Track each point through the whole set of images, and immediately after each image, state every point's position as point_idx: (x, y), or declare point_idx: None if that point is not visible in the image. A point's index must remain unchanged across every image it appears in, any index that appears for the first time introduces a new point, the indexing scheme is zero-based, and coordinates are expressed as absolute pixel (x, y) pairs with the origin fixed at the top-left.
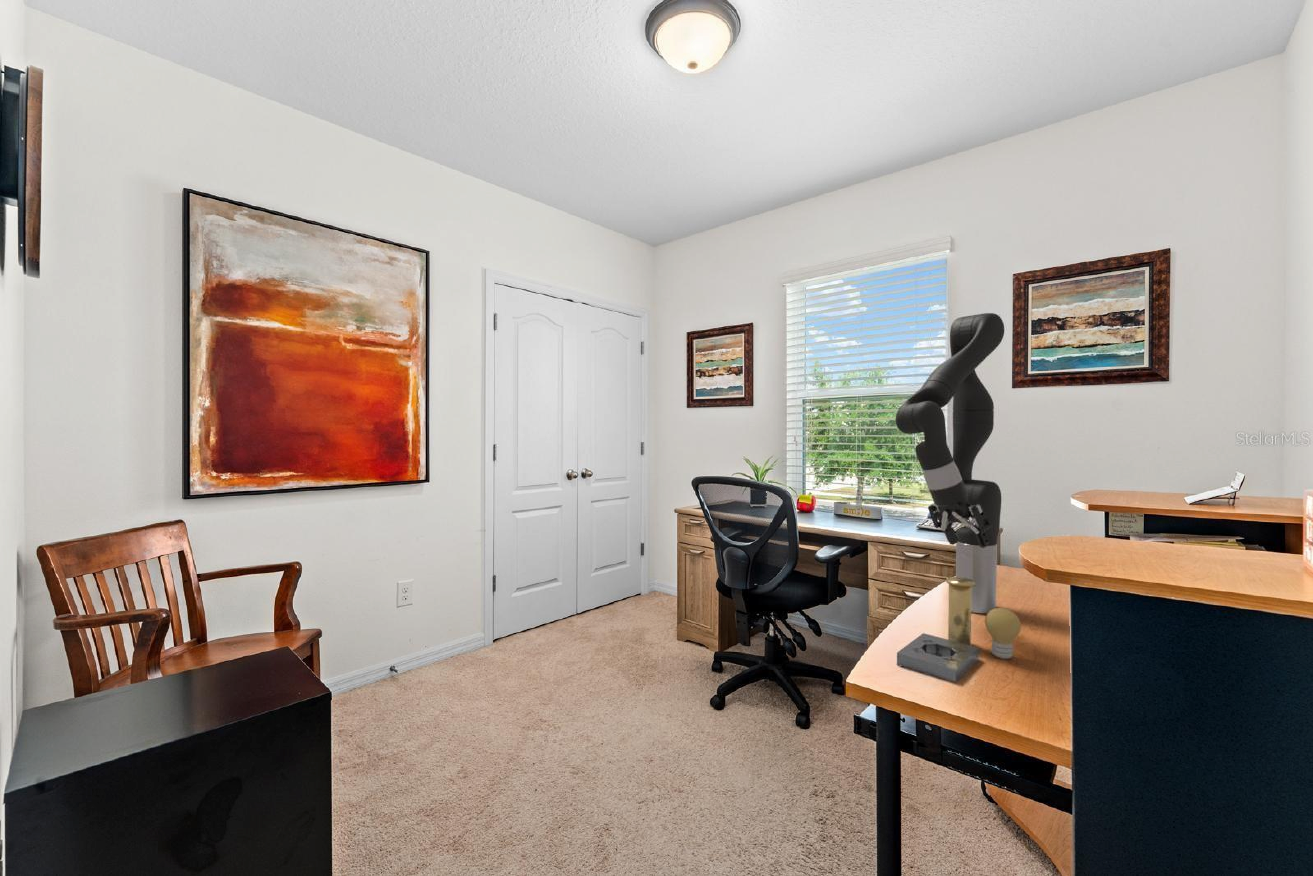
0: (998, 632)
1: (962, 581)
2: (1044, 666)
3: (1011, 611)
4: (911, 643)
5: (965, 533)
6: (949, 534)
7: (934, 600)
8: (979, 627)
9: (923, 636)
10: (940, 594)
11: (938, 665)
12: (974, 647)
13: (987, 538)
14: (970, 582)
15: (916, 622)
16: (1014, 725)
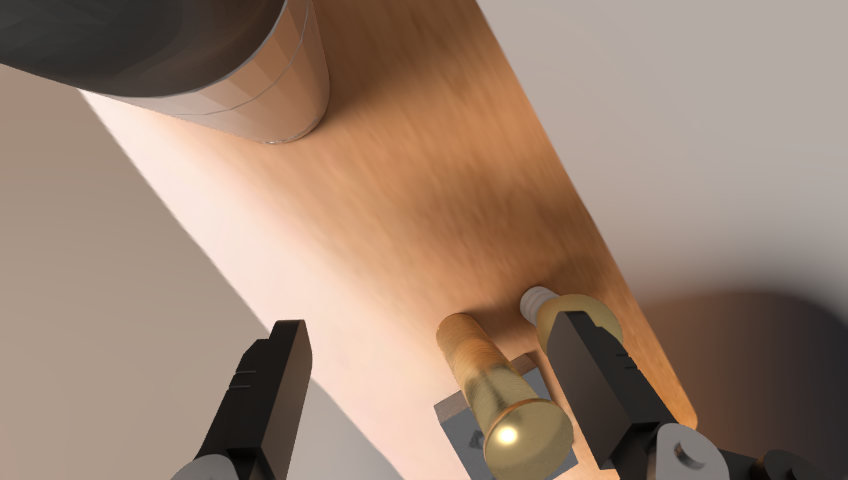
0: None
1: (541, 445)
2: (590, 262)
3: (613, 332)
4: (472, 474)
5: (94, 67)
6: (290, 443)
7: (151, 148)
8: (402, 213)
9: (454, 434)
10: None
11: (554, 477)
12: (534, 374)
13: (629, 365)
14: (559, 427)
15: (318, 340)
16: None
